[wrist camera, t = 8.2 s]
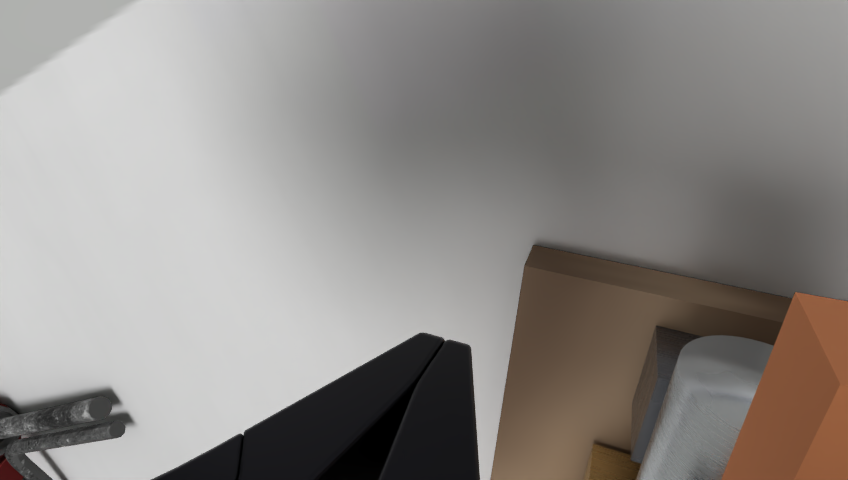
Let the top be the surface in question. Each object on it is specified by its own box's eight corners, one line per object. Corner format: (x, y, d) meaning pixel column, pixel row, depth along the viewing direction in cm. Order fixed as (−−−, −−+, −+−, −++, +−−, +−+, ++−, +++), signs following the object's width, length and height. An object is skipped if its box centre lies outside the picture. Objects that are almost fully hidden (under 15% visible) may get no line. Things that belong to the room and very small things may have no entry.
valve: (33, 492, 48) (-103, 376, 42) (234, 475, 36) (85, 313, 30) (-34, 564, 42) (-200, 443, 37) (175, 571, 31) (-17, 398, 25)
